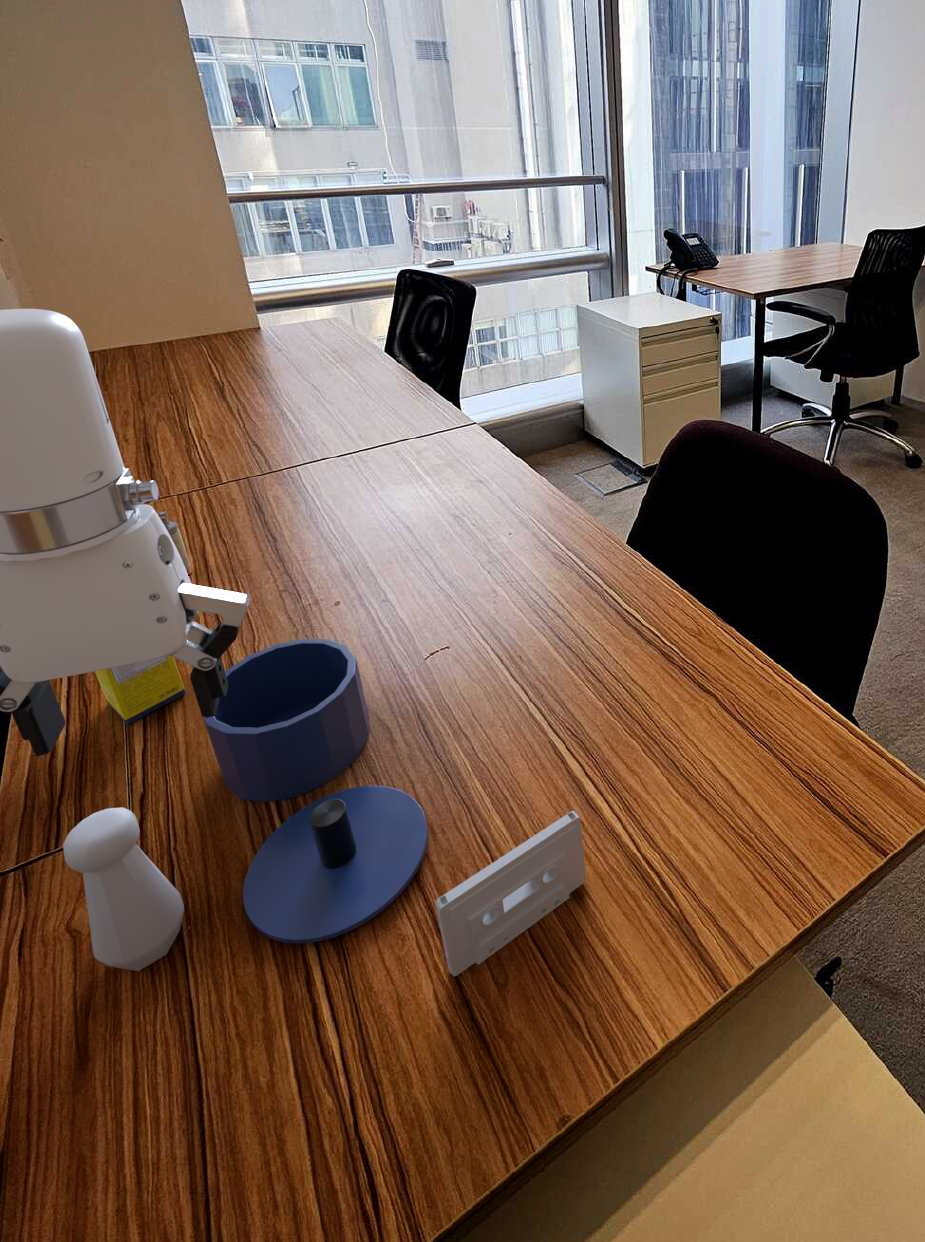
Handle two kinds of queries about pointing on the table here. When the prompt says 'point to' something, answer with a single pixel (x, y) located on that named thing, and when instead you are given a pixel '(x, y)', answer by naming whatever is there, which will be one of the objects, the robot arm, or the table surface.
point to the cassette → (511, 894)
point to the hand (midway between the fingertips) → (135, 721)
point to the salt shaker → (123, 891)
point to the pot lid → (335, 864)
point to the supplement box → (141, 687)
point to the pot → (289, 719)
